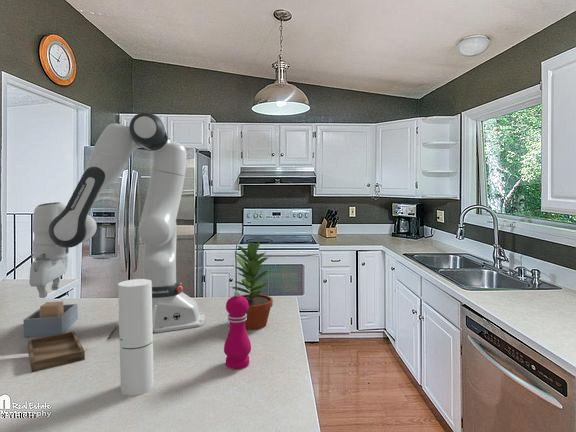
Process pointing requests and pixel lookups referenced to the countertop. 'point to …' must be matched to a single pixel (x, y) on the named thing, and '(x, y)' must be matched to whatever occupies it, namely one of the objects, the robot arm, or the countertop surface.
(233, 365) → the pepper mill
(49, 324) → the blue-grey storage bin
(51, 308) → the block
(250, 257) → the potted plant
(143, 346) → the cylindrical container
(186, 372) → the countertop surface
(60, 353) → the tray
